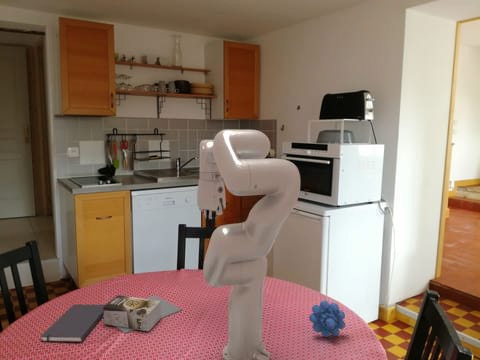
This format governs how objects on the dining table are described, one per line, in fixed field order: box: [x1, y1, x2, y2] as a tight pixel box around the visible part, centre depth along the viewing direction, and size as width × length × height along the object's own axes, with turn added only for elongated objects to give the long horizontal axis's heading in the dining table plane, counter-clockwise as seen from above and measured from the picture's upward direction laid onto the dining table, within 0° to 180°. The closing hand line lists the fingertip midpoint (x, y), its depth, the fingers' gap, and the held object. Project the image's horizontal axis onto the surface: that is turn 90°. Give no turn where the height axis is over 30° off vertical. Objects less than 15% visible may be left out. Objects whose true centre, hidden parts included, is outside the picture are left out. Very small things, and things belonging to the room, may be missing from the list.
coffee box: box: [103, 294, 162, 332], centre depth 130 cm, size 9×6×16 cm
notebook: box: [40, 304, 105, 343], centre depth 128 cm, size 13×2×21 cm
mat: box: [102, 294, 183, 334], centre depth 137 cm, size 16×22×1 cm
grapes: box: [308, 300, 346, 338], centre depth 122 cm, size 12×7×12 cm, turn 96°
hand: (210, 229), depth 136 cm, fingers closed
